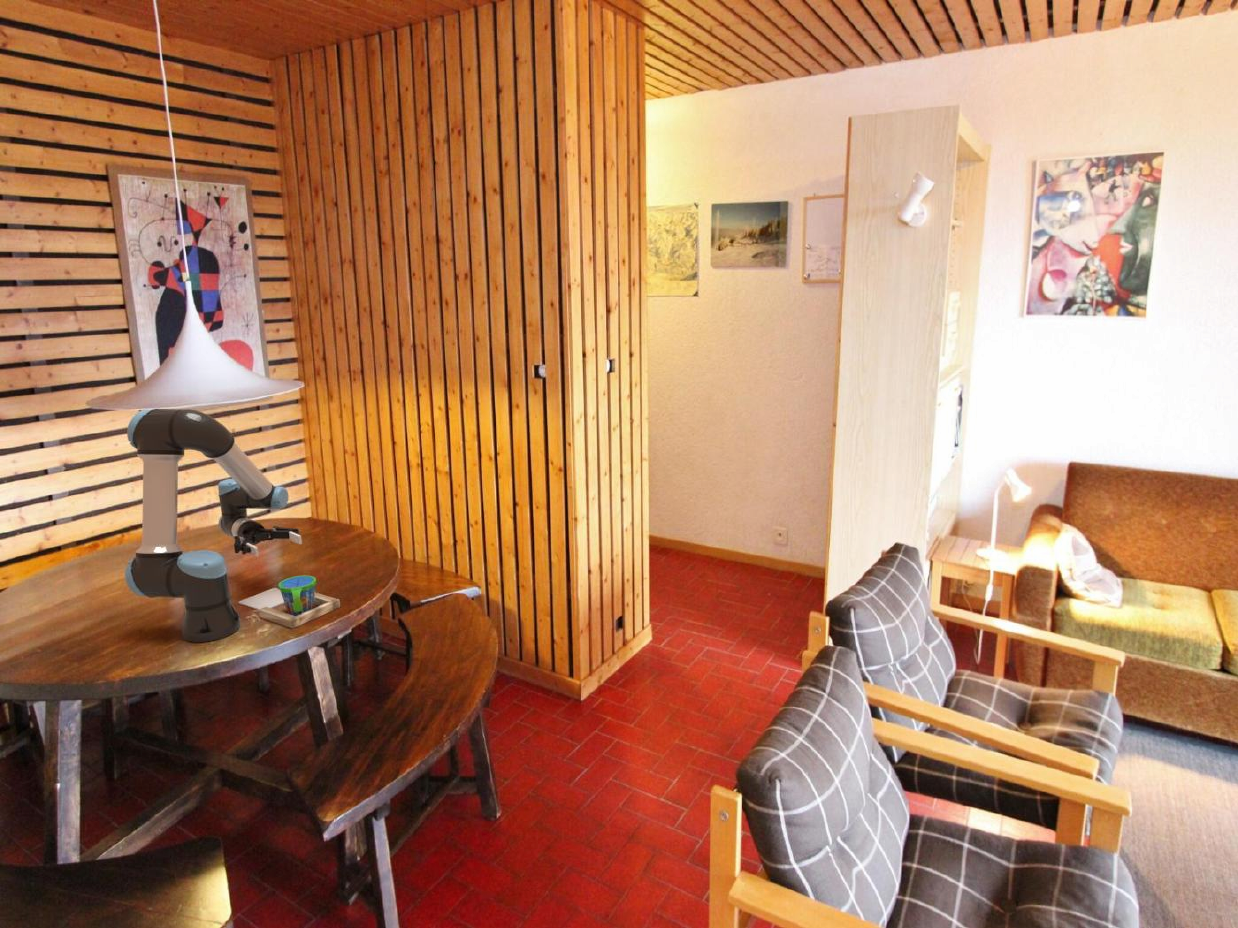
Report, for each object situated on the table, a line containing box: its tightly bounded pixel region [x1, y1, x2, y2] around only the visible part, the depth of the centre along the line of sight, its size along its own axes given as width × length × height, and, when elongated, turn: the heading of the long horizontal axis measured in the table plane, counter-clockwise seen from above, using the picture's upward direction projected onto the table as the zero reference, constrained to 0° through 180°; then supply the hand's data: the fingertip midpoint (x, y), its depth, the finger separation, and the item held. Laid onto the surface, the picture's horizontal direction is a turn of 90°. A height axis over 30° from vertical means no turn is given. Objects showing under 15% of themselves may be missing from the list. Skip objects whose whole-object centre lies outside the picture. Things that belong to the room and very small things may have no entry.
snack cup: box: [278, 574, 317, 616], centre depth 229 cm, size 16×10×10 cm
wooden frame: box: [258, 592, 341, 629], centre depth 230 cm, size 17×16×2 cm
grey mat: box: [237, 587, 285, 611], centre depth 240 cm, size 13×13×1 cm
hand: (279, 546), depth 232 cm, fingers open, 13 cm apart
